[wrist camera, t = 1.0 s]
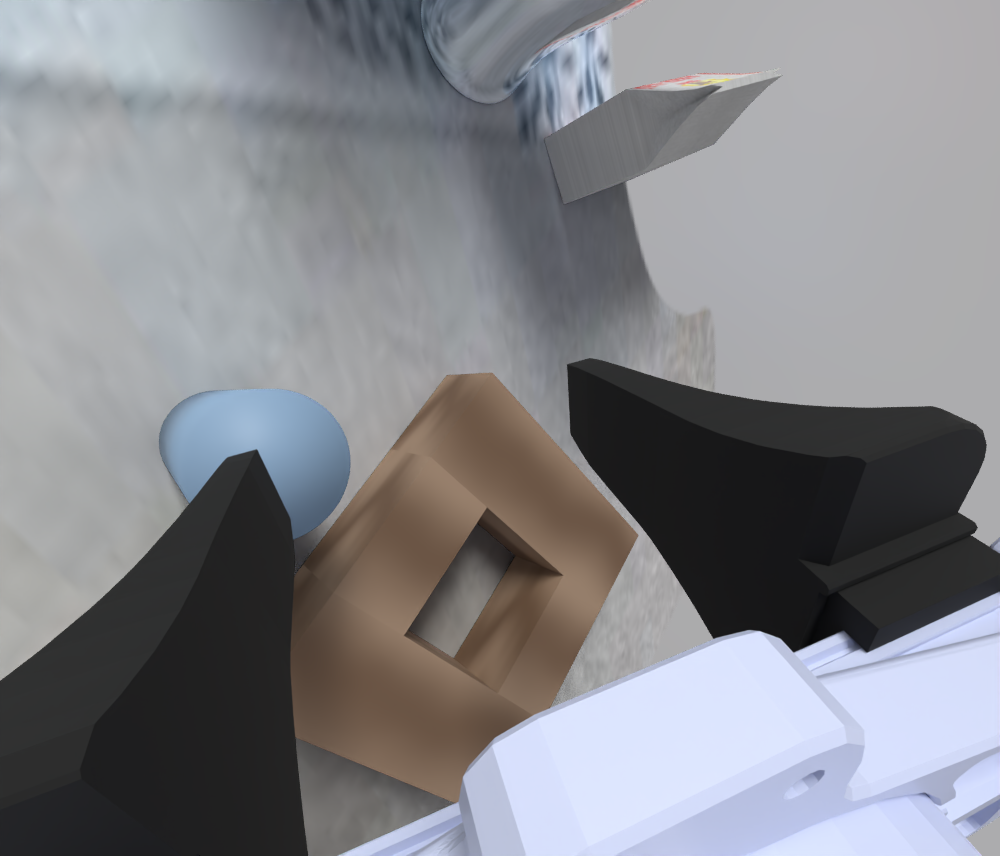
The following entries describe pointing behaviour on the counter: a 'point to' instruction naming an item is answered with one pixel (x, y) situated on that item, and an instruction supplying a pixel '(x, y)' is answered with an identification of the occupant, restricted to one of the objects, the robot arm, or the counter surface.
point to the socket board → (417, 570)
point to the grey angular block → (648, 129)
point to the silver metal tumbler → (506, 38)
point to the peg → (261, 447)
